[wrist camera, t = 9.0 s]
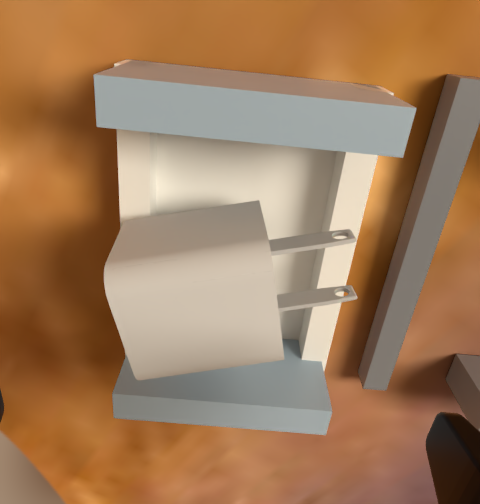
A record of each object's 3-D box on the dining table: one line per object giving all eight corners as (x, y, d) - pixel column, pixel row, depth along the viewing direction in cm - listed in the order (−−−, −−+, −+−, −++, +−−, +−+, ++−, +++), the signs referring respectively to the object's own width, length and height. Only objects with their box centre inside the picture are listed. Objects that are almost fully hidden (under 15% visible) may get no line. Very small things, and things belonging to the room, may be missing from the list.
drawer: (315, 358, 19) (331, 435, 16) (134, 343, 19) (108, 417, 15) (380, 85, 14) (425, 108, 10) (127, 59, 14) (85, 73, 10)
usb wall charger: (127, 212, 14) (99, 276, 11) (336, 181, 14) (376, 236, 11) (155, 310, 16) (139, 391, 13) (339, 283, 16) (374, 358, 13)
